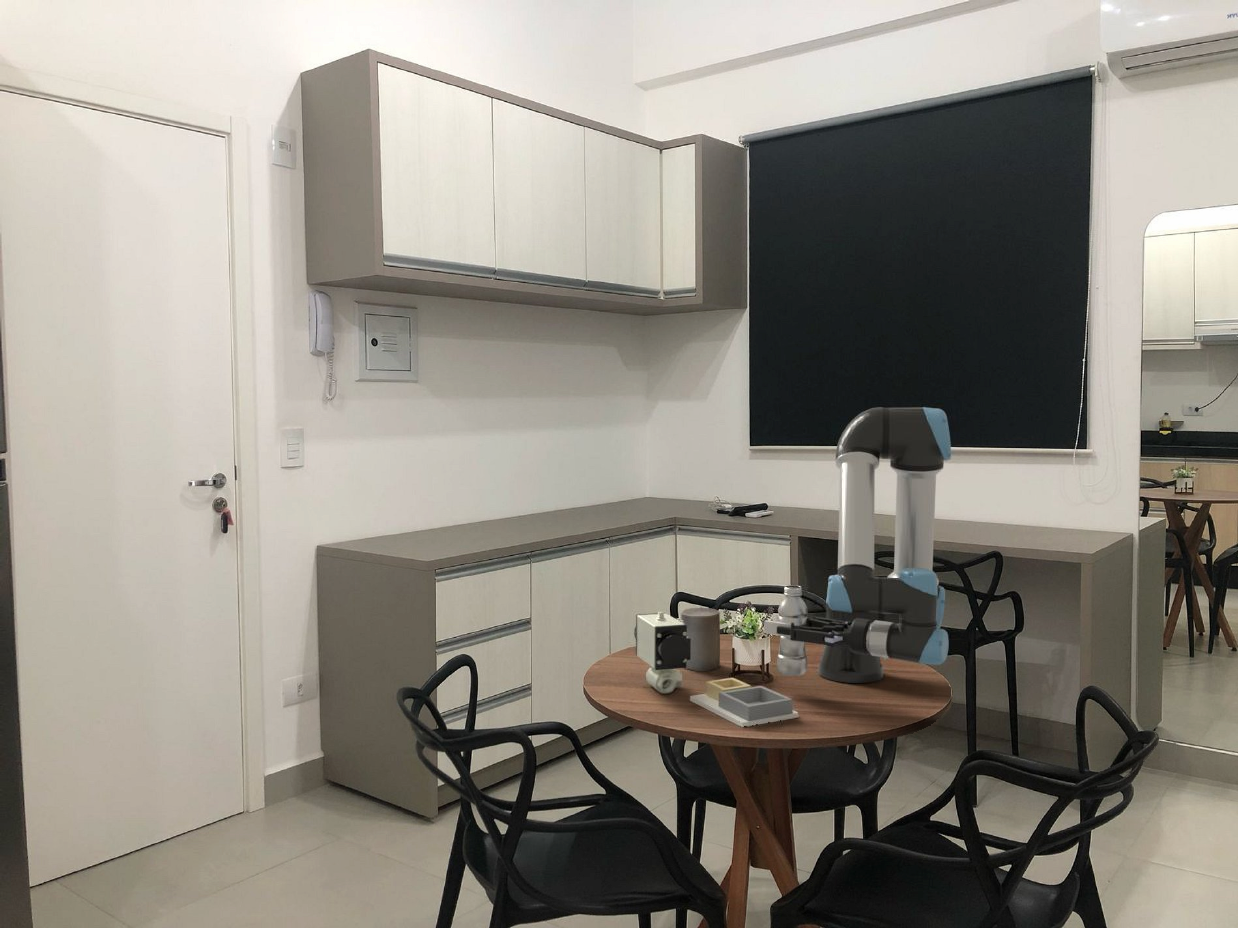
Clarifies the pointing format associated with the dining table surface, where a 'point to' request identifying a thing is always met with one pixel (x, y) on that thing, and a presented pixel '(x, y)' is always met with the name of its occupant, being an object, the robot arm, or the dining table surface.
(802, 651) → the plastic bottle
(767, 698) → the fitting board
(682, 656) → the ball valve
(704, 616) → the pillar candle
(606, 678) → the dining table surface
